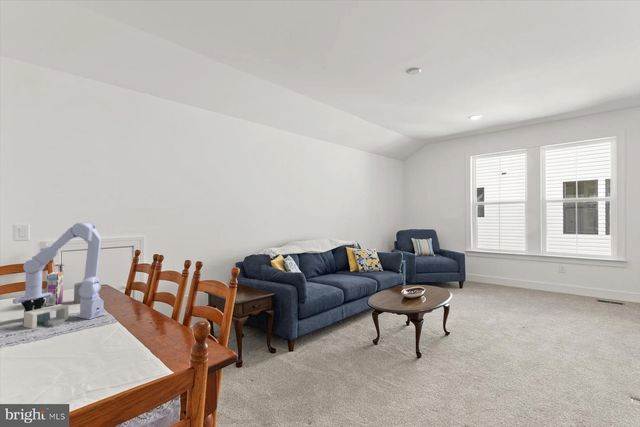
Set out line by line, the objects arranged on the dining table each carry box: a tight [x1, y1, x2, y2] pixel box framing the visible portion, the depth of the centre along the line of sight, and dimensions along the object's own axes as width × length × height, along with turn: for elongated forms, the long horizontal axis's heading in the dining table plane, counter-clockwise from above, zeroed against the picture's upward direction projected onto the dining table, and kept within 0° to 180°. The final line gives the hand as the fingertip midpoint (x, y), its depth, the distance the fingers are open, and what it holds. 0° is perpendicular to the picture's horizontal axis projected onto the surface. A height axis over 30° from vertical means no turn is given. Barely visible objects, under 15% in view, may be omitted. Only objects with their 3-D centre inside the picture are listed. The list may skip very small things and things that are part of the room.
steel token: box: [44, 316, 66, 328], centre depth 145 cm, size 5×5×2 cm
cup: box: [73, 281, 82, 305], centre depth 183 cm, size 8×8×10 cm
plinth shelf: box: [23, 303, 69, 329], centre depth 147 cm, size 6×14×6 cm, turn 159°
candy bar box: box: [45, 271, 65, 307], centre depth 177 cm, size 11×5×16 cm, turn 25°
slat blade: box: [23, 308, 51, 324], centre depth 150 cm, size 15×2×4 cm, turn 69°
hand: (33, 316), depth 151 cm, fingers closed on slat blade, 2 cm apart
